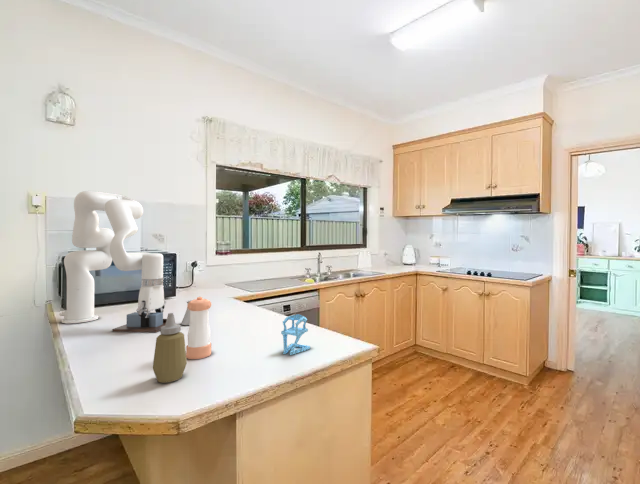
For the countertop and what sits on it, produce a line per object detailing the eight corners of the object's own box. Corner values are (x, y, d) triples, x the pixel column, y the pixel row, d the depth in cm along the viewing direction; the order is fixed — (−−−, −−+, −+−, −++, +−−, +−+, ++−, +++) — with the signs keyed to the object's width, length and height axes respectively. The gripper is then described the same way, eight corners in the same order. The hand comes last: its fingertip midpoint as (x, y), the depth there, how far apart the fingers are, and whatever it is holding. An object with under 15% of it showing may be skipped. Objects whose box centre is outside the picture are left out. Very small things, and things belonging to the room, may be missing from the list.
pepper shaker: (185, 360, 105) (186, 299, 106) (186, 353, 112) (187, 295, 112) (211, 357, 109) (212, 297, 109) (210, 350, 115) (211, 294, 115)
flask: (203, 321, 152) (203, 299, 152) (193, 326, 145) (193, 302, 145) (188, 321, 153) (188, 299, 153) (177, 325, 146) (177, 302, 146)
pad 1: (126, 326, 139) (126, 314, 139) (134, 323, 144) (134, 312, 144) (140, 327, 139) (140, 314, 139) (148, 324, 144) (148, 312, 144)
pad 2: (141, 327, 139) (141, 314, 139) (149, 324, 144) (149, 312, 144) (155, 327, 139) (155, 315, 139) (163, 324, 144) (163, 312, 144)
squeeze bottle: (162, 373, 96) (163, 310, 96) (191, 372, 97) (192, 309, 97) (145, 385, 88) (146, 316, 88) (177, 384, 89) (178, 316, 89)
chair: (277, 353, 113) (277, 317, 113) (292, 345, 121) (292, 312, 121) (296, 356, 110) (297, 319, 110) (310, 348, 118) (311, 314, 118)
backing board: (112, 331, 136) (112, 325, 136) (134, 323, 148) (134, 318, 148) (155, 332, 135) (156, 326, 135) (174, 324, 147) (174, 318, 147)
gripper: (157, 279, 150) (157, 319, 150) (127, 285, 133) (127, 330, 133) (174, 280, 150) (173, 319, 150) (146, 285, 133) (145, 330, 132)
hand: (151, 324), depth 141 cm, fingers open, 7 cm apart
